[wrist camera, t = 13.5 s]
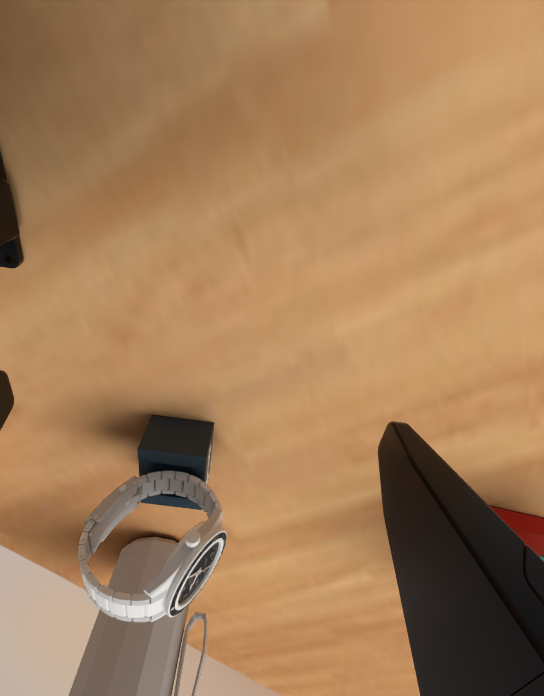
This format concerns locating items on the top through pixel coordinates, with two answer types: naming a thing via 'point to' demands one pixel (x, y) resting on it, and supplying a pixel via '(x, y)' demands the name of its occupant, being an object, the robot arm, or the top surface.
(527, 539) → the toy robot
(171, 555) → the watch
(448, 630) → the robot arm
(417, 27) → the top surface
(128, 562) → the water bottle
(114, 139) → the top surface
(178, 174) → the top surface
